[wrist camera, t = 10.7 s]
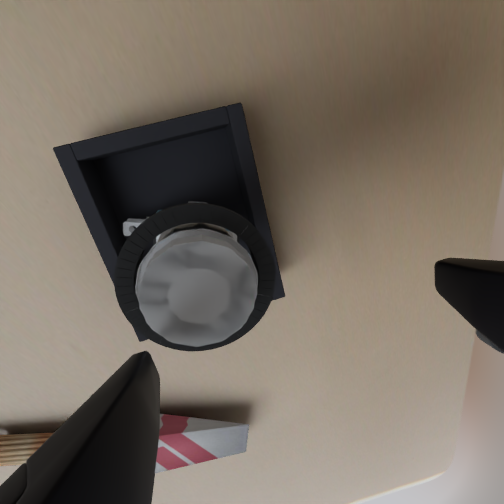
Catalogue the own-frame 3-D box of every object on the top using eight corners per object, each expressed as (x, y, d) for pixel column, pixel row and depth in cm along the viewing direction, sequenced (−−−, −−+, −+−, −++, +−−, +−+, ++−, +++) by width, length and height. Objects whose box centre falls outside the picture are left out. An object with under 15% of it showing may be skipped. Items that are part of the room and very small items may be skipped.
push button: (130, 263, 18) (62, 375, 9) (127, 175, 17) (42, 199, 7) (236, 266, 20) (273, 366, 10) (243, 185, 18) (294, 215, 9)
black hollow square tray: (233, 111, 17) (241, 101, 14) (273, 277, 21) (285, 297, 18) (77, 149, 16) (51, 147, 14) (147, 315, 20) (139, 342, 17)
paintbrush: (247, 476, 22) (-59, 493, 19) (243, 442, 25) (-27, 453, 22) (253, 436, 21) (-72, 448, 18) (248, 406, 24) (-36, 411, 20)
